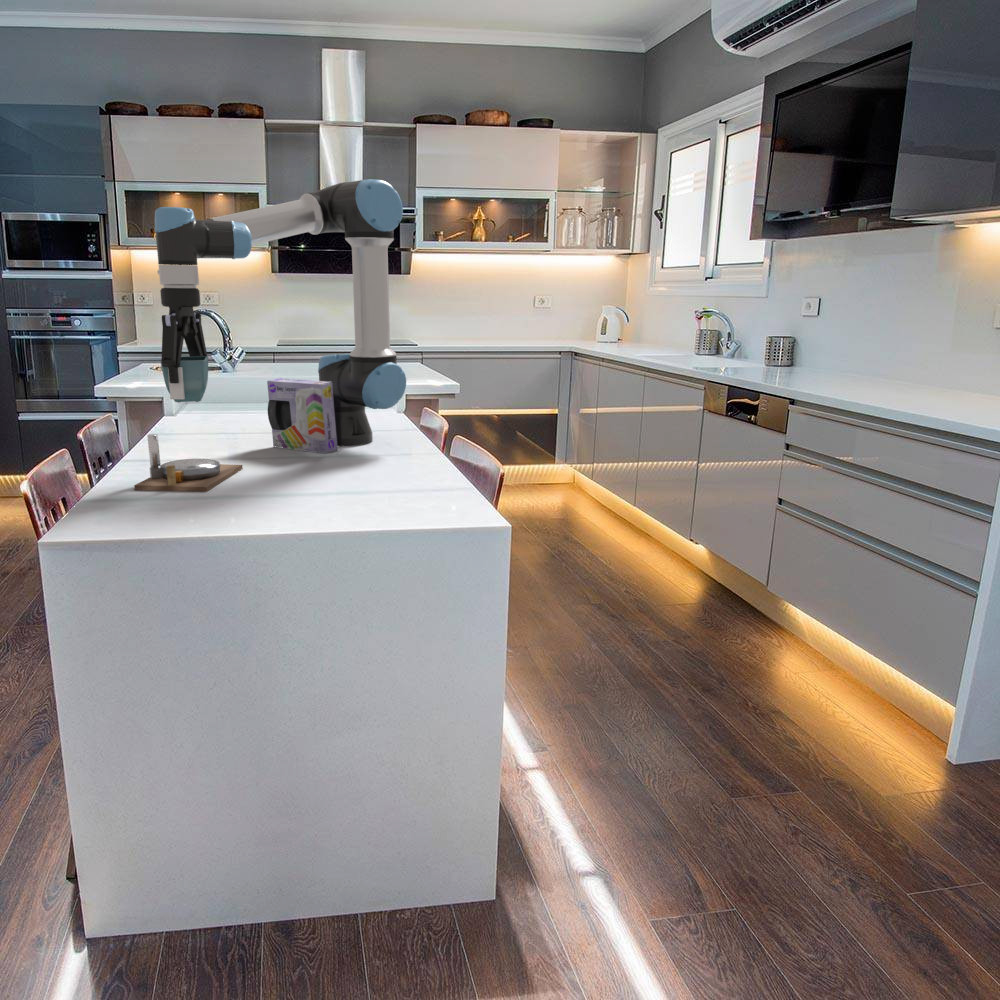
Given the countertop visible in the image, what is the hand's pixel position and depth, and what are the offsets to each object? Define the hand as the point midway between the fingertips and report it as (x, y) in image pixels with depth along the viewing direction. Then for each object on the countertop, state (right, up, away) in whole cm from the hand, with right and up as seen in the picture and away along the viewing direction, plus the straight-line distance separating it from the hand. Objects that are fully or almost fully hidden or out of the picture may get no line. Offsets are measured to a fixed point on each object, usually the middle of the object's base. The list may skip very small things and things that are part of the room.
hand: (188, 395), depth 179 cm
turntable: (-1, -17, +3) cm, 17 cm away
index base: (-1, -17, +4) cm, 18 cm away
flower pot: (0, -1, 0) cm, 1 cm away
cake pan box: (+16, -9, +36) cm, 41 cm away
